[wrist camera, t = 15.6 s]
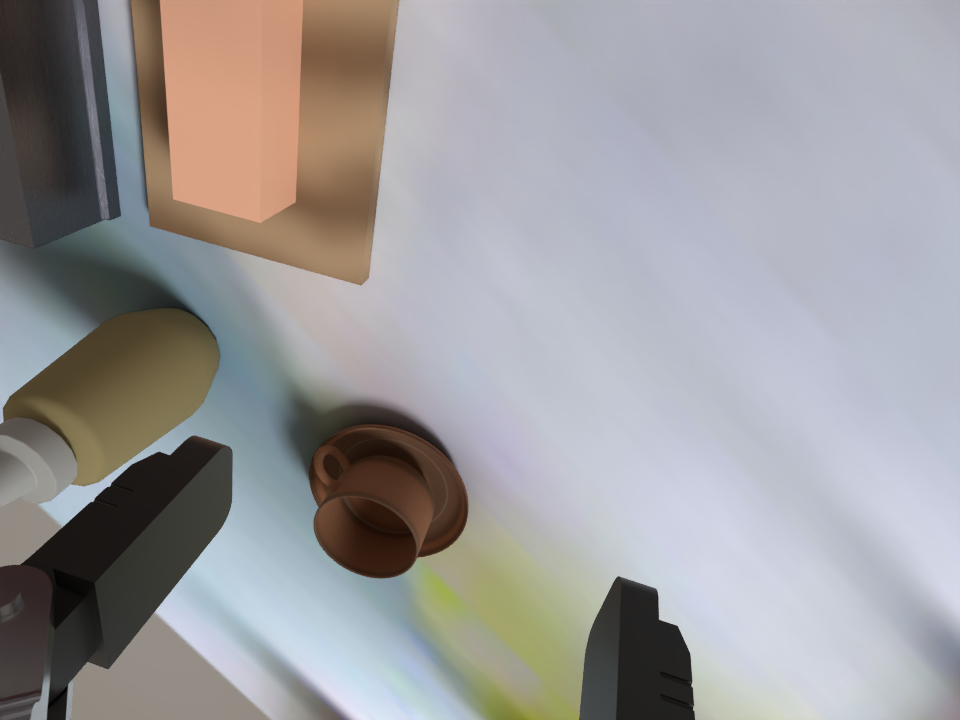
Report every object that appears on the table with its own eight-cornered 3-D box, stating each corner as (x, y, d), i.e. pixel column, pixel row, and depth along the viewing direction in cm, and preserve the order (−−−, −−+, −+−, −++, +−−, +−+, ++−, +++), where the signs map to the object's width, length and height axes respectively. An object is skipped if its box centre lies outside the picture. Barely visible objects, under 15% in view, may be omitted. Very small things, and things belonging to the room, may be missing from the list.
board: (120, -355, 27) (99, -369, 26) (431, -296, 26) (422, -307, 25) (162, 220, 41) (150, 226, 40) (368, 277, 40) (361, 285, 39)
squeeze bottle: (120, 350, 47) (-131, 520, 32) (148, 268, 43) (-125, 418, 28) (215, 410, 48) (15, 603, 33) (252, 335, 44) (42, 517, 29)
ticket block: (203, -222, 28) (142, -253, 25) (310, -201, 28) (263, -228, 24) (215, 181, 37) (173, 199, 34) (295, 202, 37) (260, 222, 34)
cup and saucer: (297, 482, 50) (256, 539, 45) (362, 381, 44) (323, 433, 39) (424, 563, 51) (399, 627, 46) (505, 475, 45) (487, 538, 40)
